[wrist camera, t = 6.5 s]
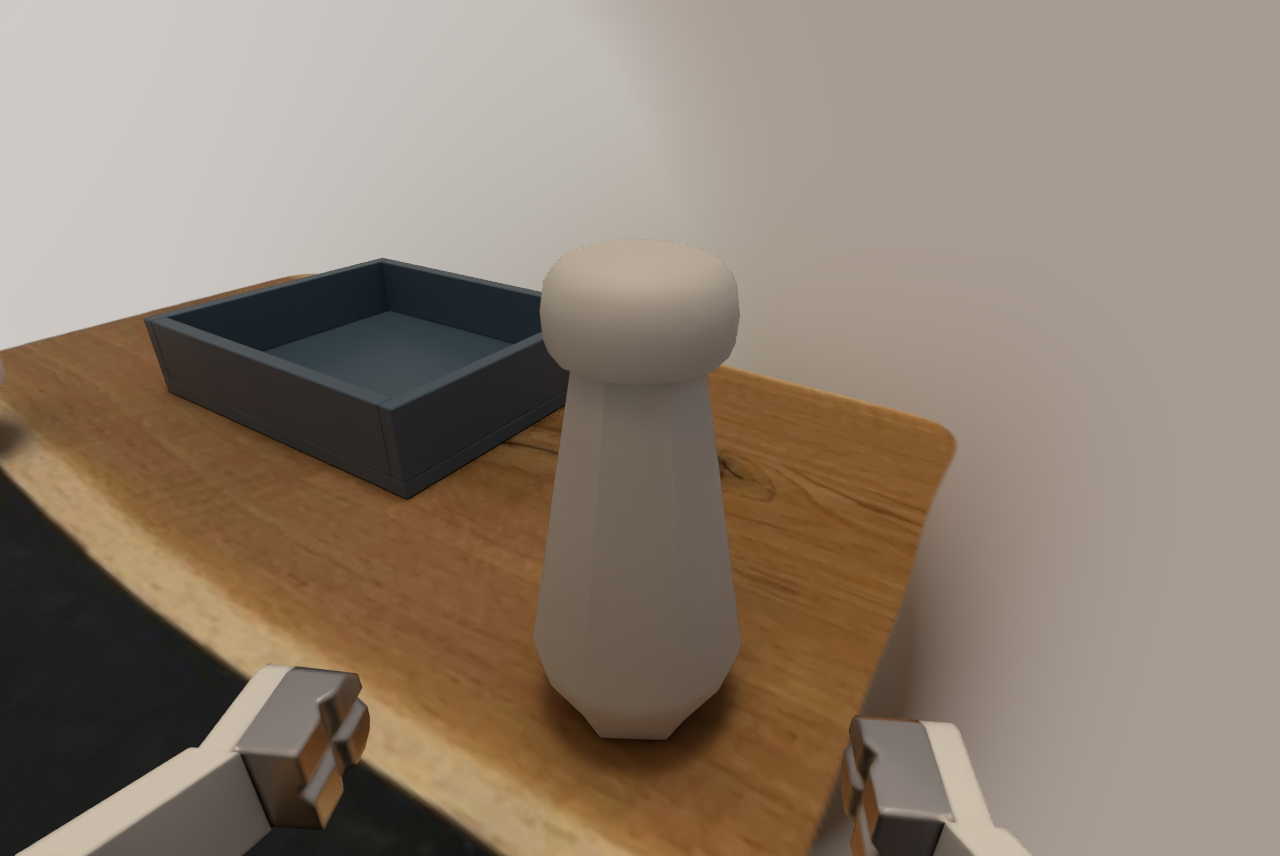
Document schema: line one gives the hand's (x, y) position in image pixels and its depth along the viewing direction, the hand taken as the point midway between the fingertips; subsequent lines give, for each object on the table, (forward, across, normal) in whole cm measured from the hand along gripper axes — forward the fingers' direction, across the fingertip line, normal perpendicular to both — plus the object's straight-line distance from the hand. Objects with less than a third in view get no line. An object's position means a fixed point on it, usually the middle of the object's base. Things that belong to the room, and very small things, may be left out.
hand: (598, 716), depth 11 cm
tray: (+27, +16, +7) cm, 32 cm away
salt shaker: (+7, 0, +7) cm, 10 cm away
